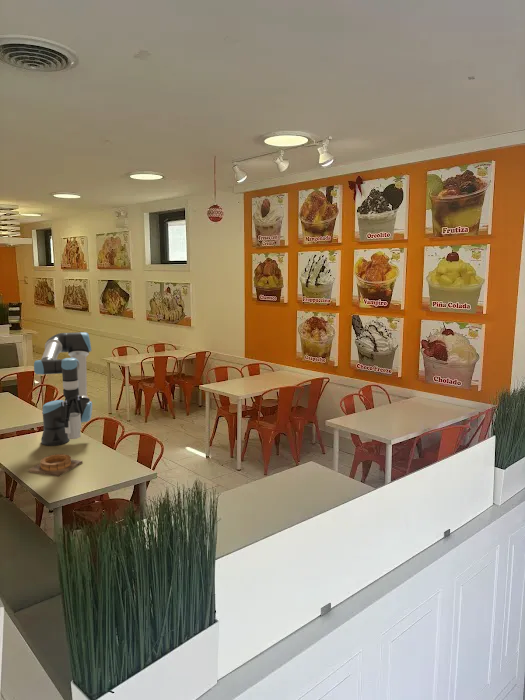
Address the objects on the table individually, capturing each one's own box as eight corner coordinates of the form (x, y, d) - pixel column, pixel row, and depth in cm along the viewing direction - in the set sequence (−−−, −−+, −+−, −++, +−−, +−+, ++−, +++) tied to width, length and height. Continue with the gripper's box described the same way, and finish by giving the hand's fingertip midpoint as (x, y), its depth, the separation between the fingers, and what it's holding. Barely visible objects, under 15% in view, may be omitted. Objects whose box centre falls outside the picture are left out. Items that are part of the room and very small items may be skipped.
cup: (77, 440, 273) (75, 418, 270) (63, 439, 274) (61, 417, 272) (85, 434, 280) (83, 413, 278) (71, 433, 282) (69, 412, 279)
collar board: (53, 458, 278) (53, 451, 277) (82, 463, 272) (82, 455, 271) (28, 471, 261) (28, 463, 260) (58, 476, 255) (58, 468, 255)
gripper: (77, 383, 283) (79, 423, 287) (50, 392, 263) (53, 436, 267) (89, 384, 281) (91, 425, 285) (63, 393, 261) (66, 437, 265)
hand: (73, 430), depth 276 cm, fingers closed on cup, 8 cm apart
